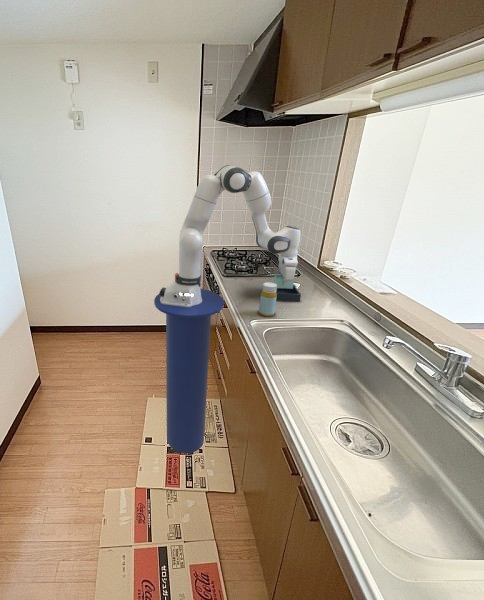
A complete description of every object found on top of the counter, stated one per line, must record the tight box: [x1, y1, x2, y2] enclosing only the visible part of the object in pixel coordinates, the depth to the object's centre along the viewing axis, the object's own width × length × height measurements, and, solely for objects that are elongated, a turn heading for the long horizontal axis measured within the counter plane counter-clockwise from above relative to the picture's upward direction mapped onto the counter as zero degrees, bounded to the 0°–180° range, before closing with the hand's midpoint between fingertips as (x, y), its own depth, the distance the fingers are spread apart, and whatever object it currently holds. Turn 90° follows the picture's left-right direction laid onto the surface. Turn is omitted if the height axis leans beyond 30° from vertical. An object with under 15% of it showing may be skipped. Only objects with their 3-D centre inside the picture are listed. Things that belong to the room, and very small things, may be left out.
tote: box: [276, 284, 302, 303], centre depth 176 cm, size 15×15×4 cm
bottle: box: [258, 281, 277, 318], centre depth 153 cm, size 7×7×15 cm
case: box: [273, 273, 296, 289], centre depth 173 cm, size 9×5×6 cm, turn 82°
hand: (283, 283), depth 174 cm, fingers closed on case, 5 cm apart
